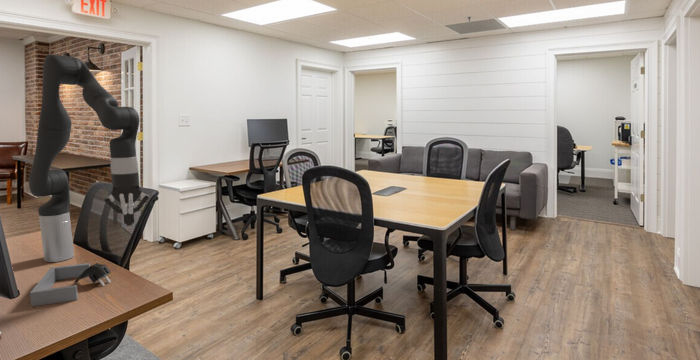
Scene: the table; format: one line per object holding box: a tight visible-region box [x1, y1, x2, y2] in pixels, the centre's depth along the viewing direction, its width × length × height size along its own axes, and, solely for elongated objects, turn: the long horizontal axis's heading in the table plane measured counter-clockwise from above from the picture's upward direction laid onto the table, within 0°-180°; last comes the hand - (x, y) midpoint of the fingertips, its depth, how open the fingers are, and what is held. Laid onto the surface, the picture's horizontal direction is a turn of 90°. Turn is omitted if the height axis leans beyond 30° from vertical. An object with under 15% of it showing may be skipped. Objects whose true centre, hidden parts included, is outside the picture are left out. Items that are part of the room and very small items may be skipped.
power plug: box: [74, 262, 112, 287], centre depth 134 cm, size 6×8×12 cm
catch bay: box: [29, 262, 91, 307], centre depth 130 cm, size 21×11×4 cm, turn 22°
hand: (129, 225), depth 134 cm, fingers closed
